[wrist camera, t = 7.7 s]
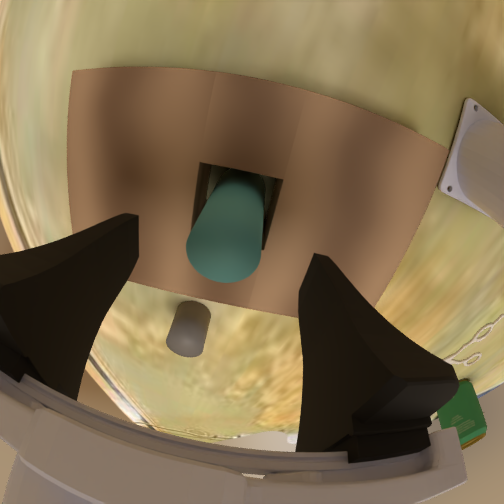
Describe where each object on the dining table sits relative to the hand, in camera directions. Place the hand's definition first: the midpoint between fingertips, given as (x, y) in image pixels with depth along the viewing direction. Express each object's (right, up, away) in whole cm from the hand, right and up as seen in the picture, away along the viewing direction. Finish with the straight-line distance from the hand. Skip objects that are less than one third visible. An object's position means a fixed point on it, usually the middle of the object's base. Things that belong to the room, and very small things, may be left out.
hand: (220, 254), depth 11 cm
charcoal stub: (-4, -6, +14) cm, 16 cm away
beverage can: (+37, -25, +23) cm, 50 cm away
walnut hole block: (0, +5, +7) cm, 9 cm away
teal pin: (0, +4, +7) cm, 9 cm away
